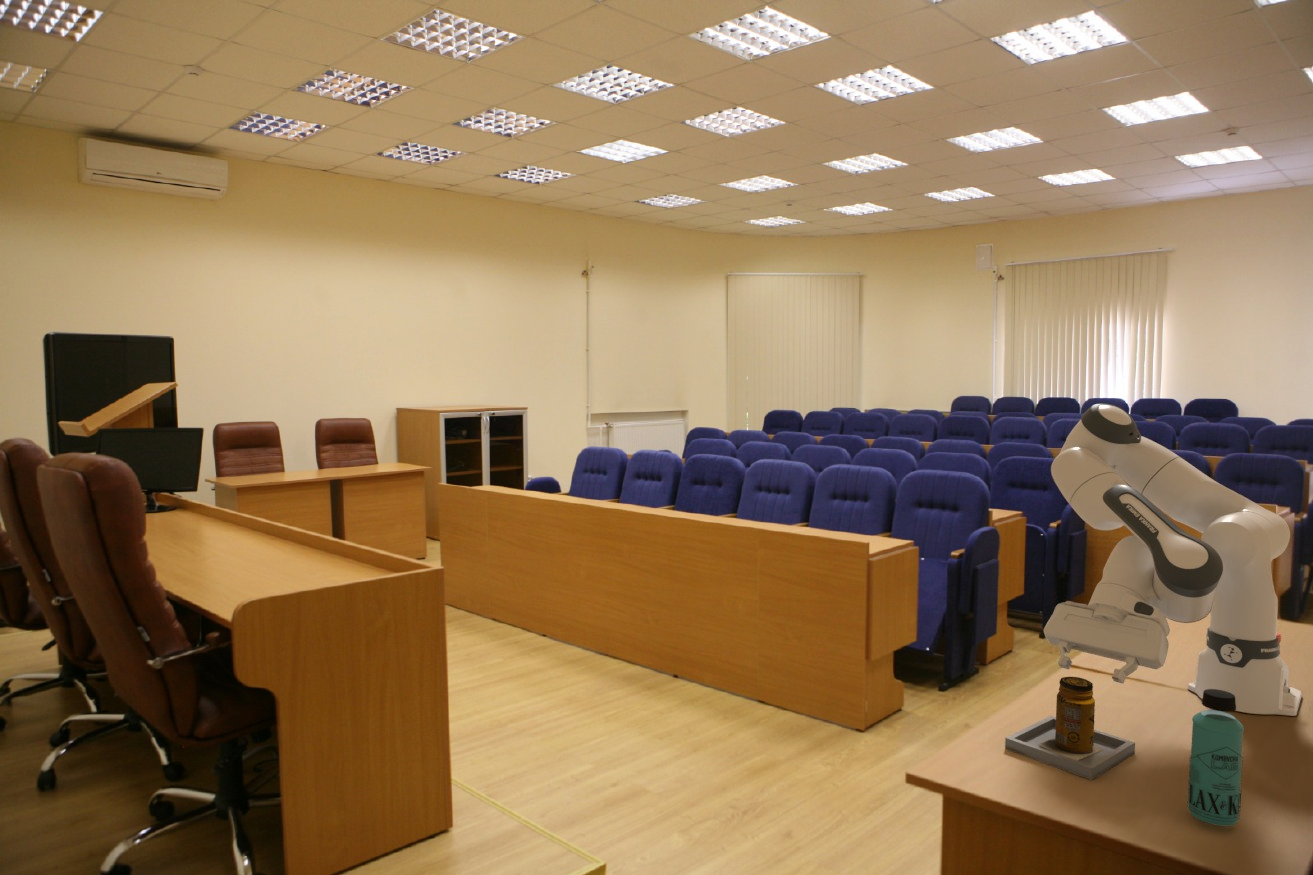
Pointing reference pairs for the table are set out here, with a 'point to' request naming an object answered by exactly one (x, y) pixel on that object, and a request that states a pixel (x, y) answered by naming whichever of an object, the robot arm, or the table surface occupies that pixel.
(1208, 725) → the beverage bottle
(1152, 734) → the table surface
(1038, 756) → the tray
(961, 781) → the table surface
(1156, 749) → the table surface
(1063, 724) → the condiment
